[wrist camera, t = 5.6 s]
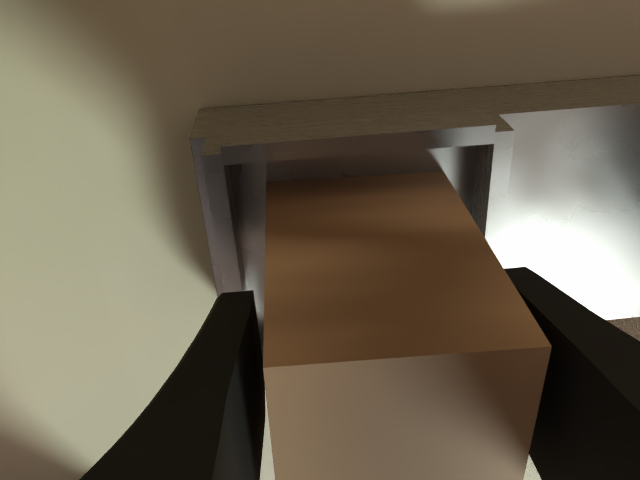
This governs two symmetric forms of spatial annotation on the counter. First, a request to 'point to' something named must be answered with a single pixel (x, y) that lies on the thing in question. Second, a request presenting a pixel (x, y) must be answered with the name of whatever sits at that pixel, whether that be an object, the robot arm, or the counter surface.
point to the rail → (449, 174)
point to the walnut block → (393, 336)
